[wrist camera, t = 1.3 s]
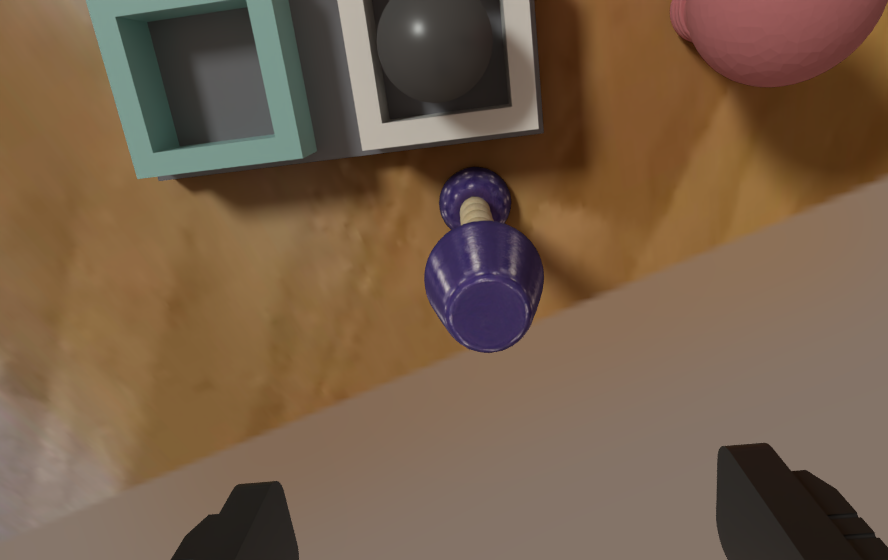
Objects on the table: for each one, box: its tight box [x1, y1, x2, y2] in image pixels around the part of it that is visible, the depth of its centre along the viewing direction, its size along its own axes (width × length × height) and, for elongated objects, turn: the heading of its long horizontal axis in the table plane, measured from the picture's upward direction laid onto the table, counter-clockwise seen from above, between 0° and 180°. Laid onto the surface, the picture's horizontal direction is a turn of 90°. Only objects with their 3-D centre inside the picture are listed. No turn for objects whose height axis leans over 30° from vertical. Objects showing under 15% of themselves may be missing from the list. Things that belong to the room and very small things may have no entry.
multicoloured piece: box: [86, 0, 544, 181], centre depth 30 cm, size 22×10×8 cm, turn 97°
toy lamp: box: [424, 167, 544, 353], centre depth 28 cm, size 5×5×17 cm
